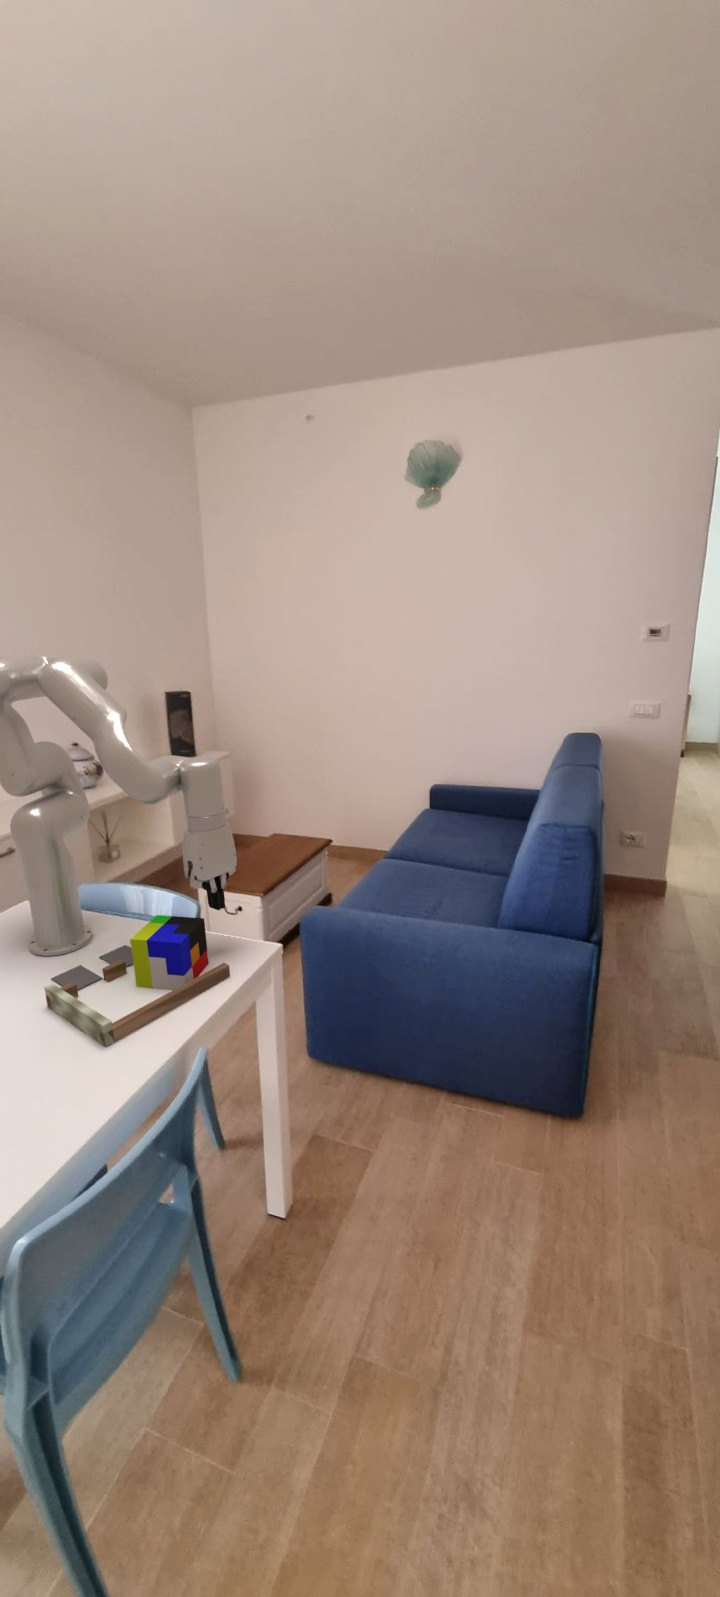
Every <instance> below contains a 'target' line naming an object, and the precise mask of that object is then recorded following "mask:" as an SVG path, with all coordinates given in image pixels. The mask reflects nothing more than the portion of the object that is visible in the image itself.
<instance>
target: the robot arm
mask: <svg viewBox="0 0 720 1597" xmlns="http://www.w3.org/2000/svg"><path fill="white" fill-rule="evenodd" d="M108 683H109V678H108V674H107V671H106V670H105V668H104V667H103V666H102V664H101V663H99V662H98V661H97V660H95V658H94V659H93V658H92V657H88V656H85V655H84V656H82V655H80V656H77V655H76V656H75V655H73V656H72V655H55V654H54V655H50V654H49V655H48V654H25V655H13V656H4V657H3V656H2V657H0V785H1V787H2V789H3V790H4V791H5V792H6V793H7V795H10V796H13V797H17V798H20V797H21V798H22V797H23V798H24V797H26V796H30V795H32V794H36V793H38V792H41V795H42V796H41V797H38V798H36V799H34V800H32V801H29V802H27V803H25V804H24V805H22V806H20V807H18V809H17V810H16V811H15V812H14V813H13V815H12V818H11V819H10V824H9V826H10V827H9V828H10V833H11V837H12V839H13V841H14V843H15V846H16V849H17V851H18V854H19V857H20V860H21V866H22V869H23V870H22V871H23V875H24V880H25V886H26V891H27V896H28V902H29V908H30V912H31V913H30V914H31V919H32V925H33V930H34V936H32V937H31V938H30V939H29V941H28V949H29V952H30V953H32V954H34V955H37V956H42V957H43V956H44V957H50V956H51V957H52V956H53V957H54V956H59V955H60V956H61V955H63V954H64V955H65V954H68V953H72V952H74V951H77V950H80V949H81V948H83V947H84V946H87V944H88V943H90V942H91V941H92V939H93V937H94V931H93V928H92V927H90V926H88V925H86V924H85V923H84V917H83V913H82V912H83V910H82V906H81V905H82V904H81V899H80V892H79V886H78V878H77V872H76V868H75V863H74V862H75V861H74V859H73V856H72V854H71V852H70V850H69V849H68V847H67V846H66V844H65V842H64V839H65V838H67V837H69V836H70V835H72V834H74V833H75V832H77V831H79V830H81V829H82V828H83V827H84V826H86V825H87V823H88V821H89V819H90V812H91V811H90V810H91V808H90V805H89V800H88V797H87V795H86V793H85V789H84V787H83V784H82V782H81V779H80V777H79V775H78V772H77V768H76V766H75V764H74V762H73V759H72V758H71V756H70V754H69V753H68V752H67V750H65V749H64V747H62V746H61V745H59V744H57V743H55V742H53V741H49V740H48V741H46V740H45V741H44V740H43V741H37V742H35V741H34V740H35V739H34V738H33V736H32V734H31V731H30V728H29V726H28V724H27V721H25V719H24V718H23V717H22V715H21V714H20V713H19V712H18V711H17V710H16V709H15V708H14V707H13V706H12V705H13V703H15V702H19V701H25V700H26V701H27V700H30V699H34V698H44V697H46V699H48V700H49V701H50V702H51V703H52V704H53V705H54V706H55V707H56V708H58V709H59V710H60V711H61V712H62V713H63V714H64V715H65V716H66V717H67V718H68V719H69V720H70V721H72V723H73V724H74V725H75V726H77V728H79V730H80V731H82V732H83V733H84V734H85V735H86V736H87V737H88V738H89V739H90V740H91V742H92V743H93V748H94V751H95V754H96V756H97V758H98V761H99V762H100V765H101V767H102V769H103V770H104V772H105V773H106V775H107V776H108V777H109V778H110V780H112V781H113V782H114V784H115V785H117V786H118V787H119V788H120V789H121V790H122V791H123V792H125V794H127V795H128V796H129V797H130V798H131V799H134V800H135V801H137V802H138V803H140V804H143V805H148V806H151V805H157V804H159V803H161V802H163V801H165V800H166V799H168V798H170V797H172V796H173V795H176V794H180V793H181V792H182V798H183V805H184V812H185V814H184V815H185V820H186V821H185V822H186V827H187V828H186V829H187V830H185V831H183V837H182V861H183V862H182V863H183V871H184V876H185V878H186V879H190V880H189V888H191V889H193V890H199V889H203V890H204V891H206V896H207V897H206V898H207V904H208V907H209V908H211V909H213V910H216V911H221V909H224V908H226V901H225V900H226V897H225V888H226V887H227V881H228V880H229V877H230V876H232V875H233V874H234V873H235V872H236V871H237V869H236V867H237V865H238V864H237V863H238V862H237V861H238V859H237V851H236V845H235V840H234V837H233V832H232V829H231V826H230V823H229V822H227V816H228V815H229V814H230V811H229V809H228V808H226V807H225V806H226V805H225V798H224V789H223V779H222V772H221V765H220V761H219V760H218V759H217V758H215V757H213V756H196V757H195V756H194V757H187V756H181V755H172V754H170V755H163V756H160V757H158V758H156V759H153V760H151V761H146V759H144V758H143V757H142V756H141V755H140V754H139V753H138V752H137V751H136V750H135V749H134V748H133V747H132V745H131V744H130V742H129V741H128V739H127V737H126V733H125V723H126V721H127V719H128V718H127V717H128V713H127V710H126V709H125V708H124V707H123V706H122V705H121V704H120V703H119V702H118V701H117V700H116V699H115V698H114V697H113V696H112V695H111V694H110V693H109V692H107V687H108V685H109V684H108Z"/></svg>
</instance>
